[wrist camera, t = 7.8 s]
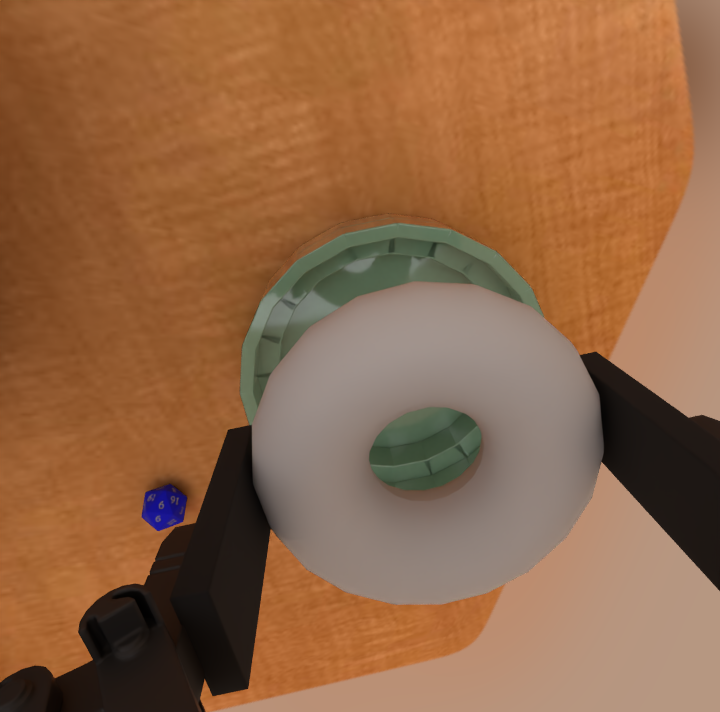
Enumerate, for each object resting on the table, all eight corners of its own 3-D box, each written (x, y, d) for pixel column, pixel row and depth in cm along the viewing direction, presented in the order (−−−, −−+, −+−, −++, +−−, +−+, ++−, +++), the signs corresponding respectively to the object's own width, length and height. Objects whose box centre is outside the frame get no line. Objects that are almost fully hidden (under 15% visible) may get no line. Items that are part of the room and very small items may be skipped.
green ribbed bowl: (288, 486, 35) (283, 537, 30) (219, 246, 29) (199, 263, 24) (527, 438, 35) (559, 481, 30) (507, 187, 29) (542, 192, 24)
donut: (626, 427, 17) (443, 190, 14) (697, 491, 14) (481, 204, 11) (395, 593, 19) (187, 419, 16) (411, 682, 16) (154, 487, 13)
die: (199, 489, 35) (188, 535, 33) (169, 492, 36) (158, 537, 34) (171, 475, 33) (158, 523, 31) (140, 479, 34) (126, 526, 32)
